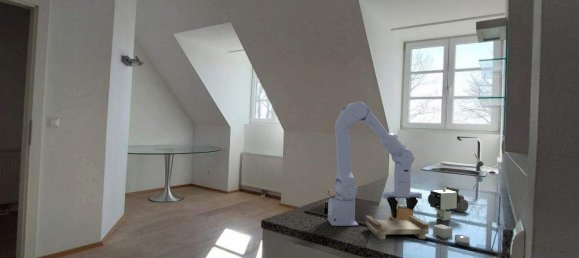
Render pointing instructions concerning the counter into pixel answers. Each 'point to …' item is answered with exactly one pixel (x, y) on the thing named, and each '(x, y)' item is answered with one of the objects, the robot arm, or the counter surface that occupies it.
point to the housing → (402, 213)
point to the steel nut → (462, 240)
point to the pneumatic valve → (443, 202)
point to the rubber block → (442, 231)
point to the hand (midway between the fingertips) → (401, 217)
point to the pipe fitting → (463, 203)
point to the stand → (397, 227)
